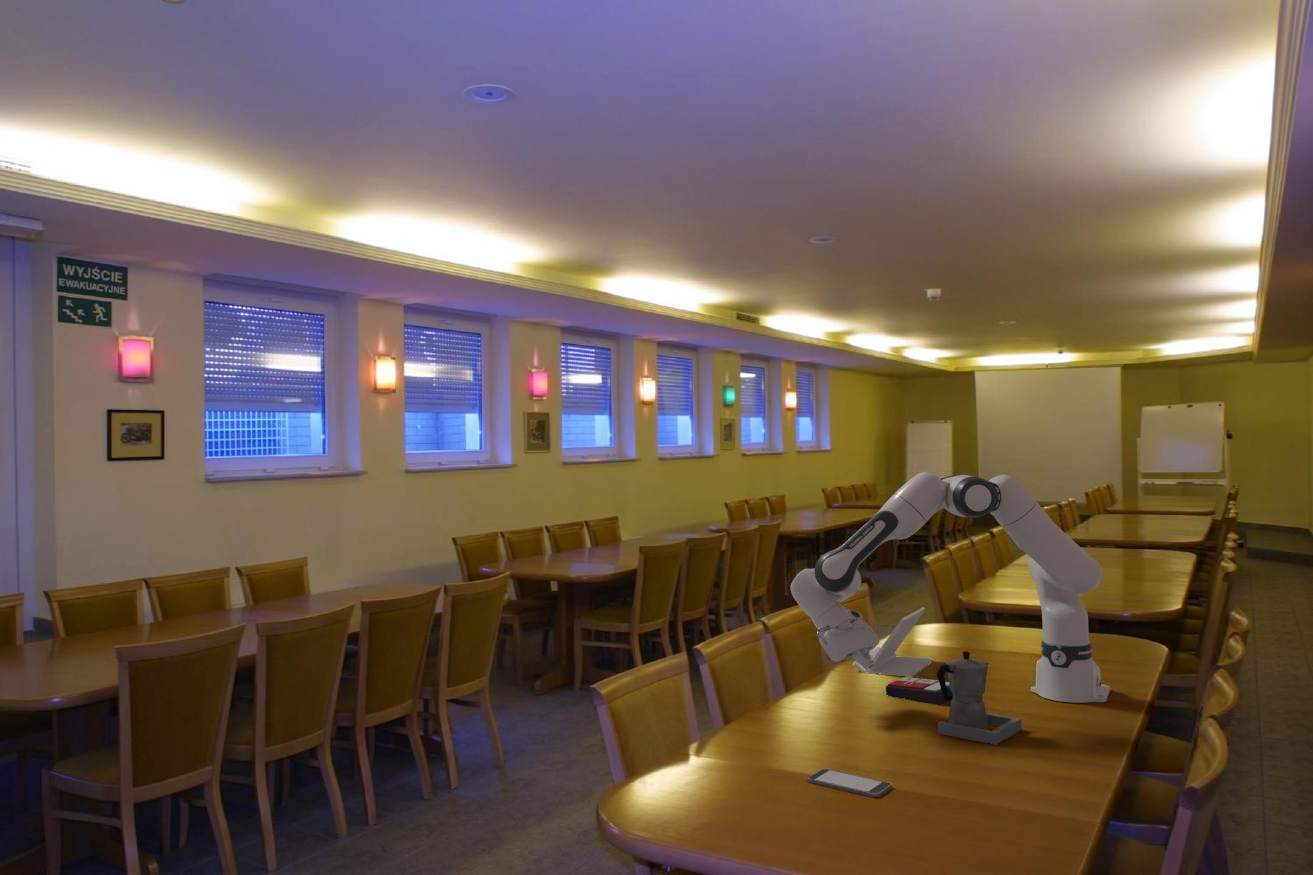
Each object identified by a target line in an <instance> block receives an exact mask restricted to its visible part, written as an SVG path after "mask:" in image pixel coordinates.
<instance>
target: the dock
mask: <svg viewBox="0 0 1313 875" xmlns="http://www.w3.org/2000/svg"><path fill="white" fill-rule="evenodd" d="M986 714H987V719H988V724H989V727H995V728H994V729H993V730H990V729H989V730H984V729H979V728H974V727H968V726H963V725H958V724H952V723H948V721H947V722H945V721H942V720H941V721H938V722H937V734H938V735H944V736H948V737H953V738H958V739H962V740H967V741H968V740H969V741H974V742H977V741H979V742H978V743H984V744H988V743H990V744H989V745H993V746H994V745H995V746H997V745H999V744H1001V743H1002V742H1004V741H1005V739H1006V738H1007V739H1008V738H1011V737H1012V736H1014V735H1015V734H1016V733H1019V732H1021V729H1022V718H1020V717H1013V716H1007V715H1003V714H996V713H991V712H986ZM1022 730H1023V729H1022ZM1007 739H1006V740H1007ZM1003 740H1004V741H1003ZM1001 741H1002V742H1001ZM1000 742H1001V743H1000ZM998 743H999V744H998Z"/></svg>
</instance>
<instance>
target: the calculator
mask: <svg viewBox="0 0 1313 875" xmlns="http://www.w3.org/2000/svg"><path fill="white" fill-rule="evenodd" d="M945 683H946V686H947V689H948V695H949V696H952V697H953V693H952V692H951V690H950V685H949V681H945ZM885 693H886V695H888V696H887V697H890V696H891V698H896V697H899V698H898V699H901V698H905V699H904V700H907V699H908V701H914V700H915V702H922V703H924V704H932V705H936V706H940V705H942V704H944V703H946V702H948V701H949V700H945V699H944V696H943V693H942V690H941V687H940V684H939V680H938V679H928V678H918V677H912V678H910V677H900V678H899V679H897V680H893V681H891V682H888V683H887V685H885ZM952 699H953V698H952ZM952 699H951V700H952Z"/></svg>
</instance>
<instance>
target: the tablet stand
mask: <svg viewBox="0 0 1313 875" xmlns="http://www.w3.org/2000/svg"><path fill="white" fill-rule="evenodd" d="M925 611H926V607H925V606H922V607H920V608H919V609H917V610H915V611H913V612H912V613H910V614H908V615H905V616H904V617H903V618H901V619H900V620H899V621H898V622H897V625H896V626H895V627H894V629H893V630H892V631H891V633H890V634H889V636H887V639H886V640H885V641H884V643H883V644H882V645H881V647H875V648H874V649H873V650H870V651H869V653H870V656H871V659H872V660H873V661H874V663H875V665H874V666H873V667H871V668H868V669H864V667H863V666H862V665H861V664H859V663H858V662H856V661H855V660H853V663H852V666H853V667H854V668H855V669H857V670H859V672H860V673H862V672H869V673H868V674H871V673H881V674H887V675H886V676H890V675H900V676H914V675H915V674H916V673H918V672H919V671H920V670H921V669H923V668H924V667H925V666H927V665H928V664H929V663H930V662H932V661H933V662H934V659H933V658H926V657H917V656H907V655H906V656H907V657H896V656H898V655H897V654H896V652H897V651H898V649H899V648H900V646H901V645H902V643H903V642H904V641H905V639H906V637H907V636H908V634H909V633H910V632H911V630H912V629H913V628H914V626H915V625H916V624H917V622H918V621H919V619H920V618H921V617H922V614H924V613H925ZM933 662H932V663H933ZM929 665H930V664H929ZM929 665H928V666H929ZM928 666H927V667H928ZM925 668H926V667H925ZM925 668H924V669H925ZM924 669H923V670H924ZM921 671H922V670H921ZM921 671H920V672H921ZM920 672H919V673H920ZM919 673H918V674H919ZM881 674H880V675H881ZM916 675H917V674H916ZM916 675H915V676H916ZM915 676H914V677H915Z"/></svg>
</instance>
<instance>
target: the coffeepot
mask: <svg viewBox="0 0 1313 875" xmlns="http://www.w3.org/2000/svg"><path fill="white" fill-rule="evenodd" d="M970 654H971V653H970V652H969V651H967V650H966V651H963V652H962V656H963V658H960V659H955V660H954V659H953V660H950V661H948V662H945V664H942V665H940V666H939V669H938V670H937V672H936V677H937V680H938V682H939V684H940V687H941V690H942V693H943V696H944V699H945V700H948V701H950V706H949V707H950V708H949V713H948V719H947V720H948V721H947V723H952V724H958V725H963V726H968V727H974V728H979V729H984V730H990V726H989V724H988V719H987V714H986V713H987V710H986V705H985V704H986V703H985V702H984V701H983V700H984V699H983V698H984V697H983V695H984V694H985V693H986V692H985V691H986V686H987V684H986V683H987V677H988V676H987V675H988V668H989V666H988V665H989V664H990V662H986V661H981V660H977V659H975V660H974V659H970ZM946 673H947V678H948V682H949V685H950V690H951V692H952V693H953V697H952V696H949V695H948V689H947V686H946V683H945V682H946V678H945V674H946ZM952 698H953V699H952Z"/></svg>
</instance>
